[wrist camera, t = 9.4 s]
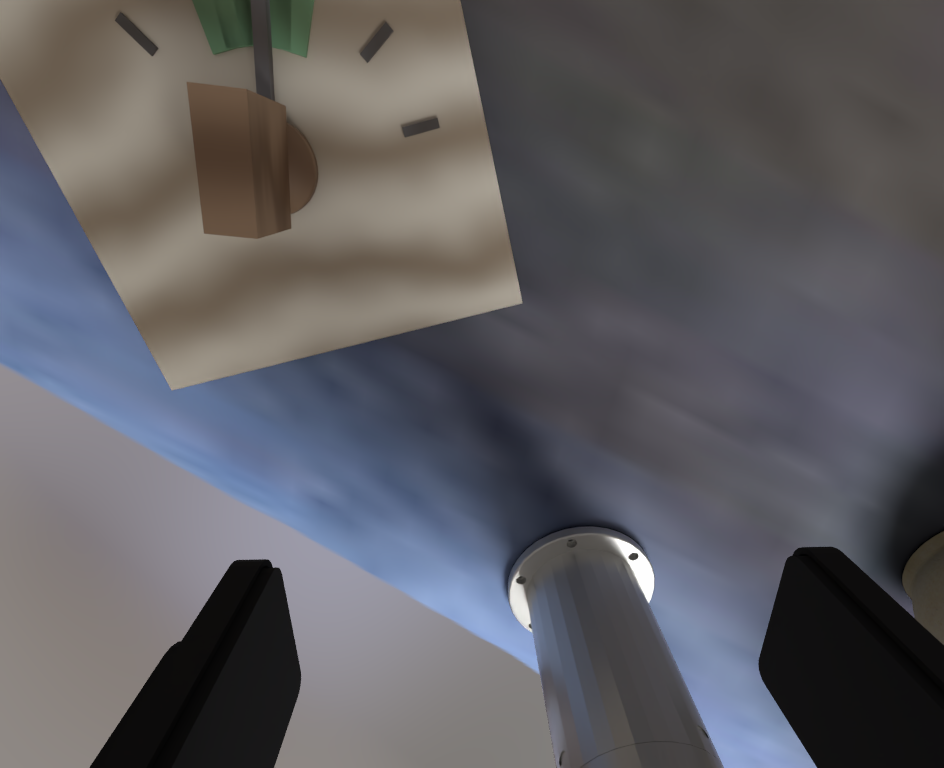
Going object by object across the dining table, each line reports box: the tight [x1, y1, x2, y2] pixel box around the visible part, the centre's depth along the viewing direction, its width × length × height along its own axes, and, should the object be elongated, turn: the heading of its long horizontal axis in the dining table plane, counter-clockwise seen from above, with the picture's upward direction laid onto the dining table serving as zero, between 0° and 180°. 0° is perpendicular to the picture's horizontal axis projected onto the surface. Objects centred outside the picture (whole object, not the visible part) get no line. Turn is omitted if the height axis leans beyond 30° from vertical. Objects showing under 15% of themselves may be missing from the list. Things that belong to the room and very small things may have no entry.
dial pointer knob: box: [187, 0, 318, 239], centre depth 22 cm, size 12×5×6 cm, turn 174°
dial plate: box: [0, 0, 522, 390], centre depth 27 cm, size 22×24×2 cm
